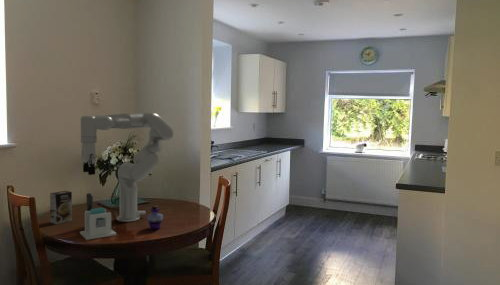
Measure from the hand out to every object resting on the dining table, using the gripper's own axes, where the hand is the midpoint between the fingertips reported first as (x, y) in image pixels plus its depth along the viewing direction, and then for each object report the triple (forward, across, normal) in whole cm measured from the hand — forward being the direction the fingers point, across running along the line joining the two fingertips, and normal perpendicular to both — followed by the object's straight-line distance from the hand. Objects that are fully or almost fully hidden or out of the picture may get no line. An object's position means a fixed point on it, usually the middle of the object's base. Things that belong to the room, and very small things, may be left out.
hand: (89, 173), depth 208 cm
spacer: (+20, +15, 0) cm, 25 cm away
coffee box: (+28, -18, -10) cm, 35 cm away
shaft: (+23, +9, 0) cm, 25 cm away
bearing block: (+28, +15, 0) cm, 32 cm away
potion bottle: (+28, +20, +27) cm, 44 cm away
